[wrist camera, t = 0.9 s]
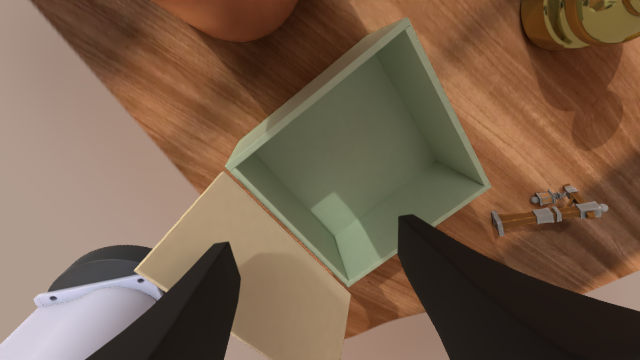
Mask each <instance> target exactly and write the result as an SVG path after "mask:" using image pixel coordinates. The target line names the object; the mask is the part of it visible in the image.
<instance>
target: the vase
mask: <svg viewBox="0 0 640 360" xmlns="http://www.w3.org/2000/svg"><path fill="white" fill-rule="evenodd" d="M149 1H151V2H153V3H154V4H156V5H158V6H159V7H161V8H163V9H165V10H166V11H168V12H170V13H171V14H173V15H175V16H176V17H178V18H180V19H182V20H183V21H185V22H187V23H188V24H190V25H192V26H193V27H195V28H197V29H199V30H200V31H202V32H204V33H206V34H208V35H210V36H213V37H216V38H218V39H222V40H227V41H235V42H242V41H251V40H256V39H259V38H262V37H264V36H266V35H268V34H270V33H272V32H273V31H275V30H276V29H277V28H279V27H280V26H281V25H282V24H283V23H284V22H285V21H286V20H287V18H288V17H289V16H290V14H291V13H292V12H293V10H294V8H295V6H296V4H297V2H298V0H149Z"/></svg>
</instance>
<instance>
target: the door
mask: <svg viewBox="0 0 640 360" xmlns="http://www.w3.org/2000/svg"><path fill="white" fill-rule="evenodd" d="M227 241H229V243H230V246H231V249H232V252H233V255H234V258H235V261H236V264H237V267H238V270H239V273H240V276H241V284H240V293H239V300H238V305H237V309H236V313H235V317H234V321H233V325H232V329H231V333H230V334H231V335H232V336H234V337H235V338H237V339H239V340H240V341H242V342H243V343H245V344H246V345H248V346H249V347H251V348H252V349H254V350H255V351H257V352H259V353H260V354H261V355H263V356H265V357H266V358H268V359H269V360H341V353H342V348H343V341H344V335H345V329H346V322H347V316H348V310H349V304H350V297H351V294H350V293H349V292H348V291H347V290H346V289H345V288H344V287H343V286H342V285H341V284H340V283H339V282H338V281H337V280H335V279H334V278H333V277H332V276H331V275H330V274H329V273H328V272H327V271H326V270H325V269H324V268H323V267H322V266H321V265H320V264H319V263H318V262H317V261H316V260H315V259H314V258H313V257H312V256H311V255H310V254H309V253H308V252H307V251H306V250H305V249H304V248H303V247H302V246H301V245H299V244H298V243H297V242H296V241H295V240H294V239H293V238H292V237H291V236H290V235H289V234H288V233H287V232H286V231H285V230H284V229H283V228H282V227H281V226H280V225H279V224H278V223H277V222H276V221H275V220H274V219H273V218H272V217H271V216H270V215H269V214H268V213H267V212H266V211H264V210H263V209H262V208H261V207H260V206H259V205H258V204H257V203H256V202H255V201H254V200H253V199H252V198H251V197H250V196H249V195H248V194H247V193H246V192H245V191H244V190H243V189H242V188H241V187H240V186H239V185H238V184H237V183H236V182H235V181H234V180H233V179H232V178H231V177H230V176H228V175H227V174H226V173H225V172H224V171H223V172H221V173H220V174H219V175H218V177H217V178H216V179H215V180H214V181H213V182H212V183H211V184H210V186H209V187H208V188H207V189H206V190H205V191H204V192H203V193H202V195H201V196H200V197H199V198H198V199H197V200H196V201H195V202H194V204H193V205H192V206H191V207H190V208H189V209H188V210H187V211H186V213H185V214H184V215H183V216H182V217H181V218H180V219H179V221H178V222H177V223H176V224H175V225H174V226H173V227H172V228H171V229H170V231H169V232H168V233H167V234H166V235H165V236H164V237H163V238H162V240H161V241H160V242H159V243H158V244H157V245H156V246H155V247H154V249H153V250H152V251H151V252H150V253H149V254H148V255H147V256H146V258H145V259H144V260H143V261H142V262H141V263H140V264H139V265H138V267H137V268H136V269H135V270H134V271H135V272H136V273H138V274H139V275H141V276H142V277H144V278H145V279H147V280H148V281H150V282H152V283H153V284H155V285H156V286H158V287H159V288H161V289H162V290H164V291H165V292H167V291H168V290H169V289H170V288H171V287H172V286H173V285H174V284H175V283H177V282H178V281H179V279H180V278H181V277H182V276H183V275H184V274H185V273H186V272H187V271H188V270H189V269H190V268H191V267H192V266H193V265H194V264H195V263H196V262H197V261H198V260H199V259H200V257H201V256H202V255H203V254H204V253H205V252H206V251H207V250H208V249H209V248H210V247H211V246H212V245H213V244H214V243H220V242H227Z"/></svg>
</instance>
